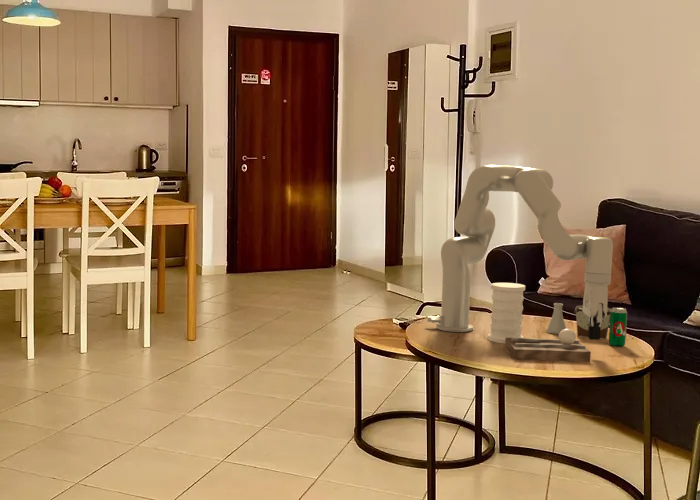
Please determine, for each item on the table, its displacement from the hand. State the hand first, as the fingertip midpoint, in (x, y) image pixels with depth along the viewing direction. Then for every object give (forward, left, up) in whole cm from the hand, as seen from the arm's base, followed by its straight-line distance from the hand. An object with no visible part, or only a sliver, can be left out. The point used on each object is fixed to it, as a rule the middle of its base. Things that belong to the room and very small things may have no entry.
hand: (593, 339), depth 241 cm
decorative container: (-23, +19, -5) cm, 30 cm away
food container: (+8, +30, -5) cm, 32 cm away
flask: (-3, +34, -5) cm, 35 cm away
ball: (-8, 0, 0) cm, 8 cm away
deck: (-14, 0, -5) cm, 15 cm away
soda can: (+12, +16, -5) cm, 21 cm away
